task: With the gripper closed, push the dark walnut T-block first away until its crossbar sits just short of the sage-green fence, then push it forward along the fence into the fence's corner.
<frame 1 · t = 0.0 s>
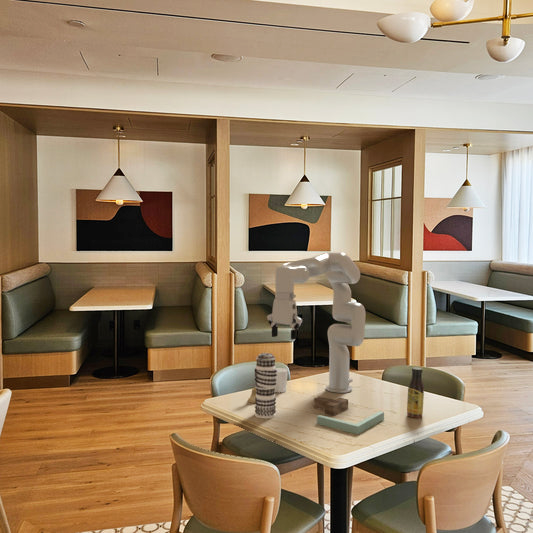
hand: (284, 337, 216), 31 cm above the table, fingers open, 9 cm apart
sauce bottle: (415, 416, 214), on the table
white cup: (279, 391, 250), on the table
hand bell: (257, 401, 234), on the table
patterned stacked cylinder: (265, 415, 214), on the table
t block: (336, 411, 220), on the table
corner fence: (353, 425, 203), on the table
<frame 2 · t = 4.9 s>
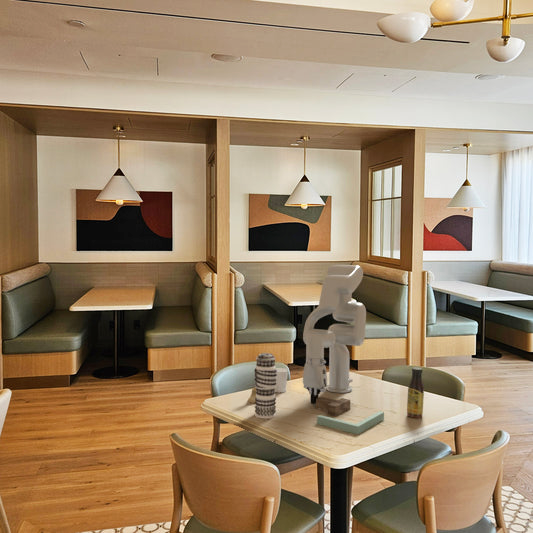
hand: (314, 403, 227), 1 cm above the table, fingers closed
t block: (338, 411, 219), on the table, touching gripper
everything else where it was.
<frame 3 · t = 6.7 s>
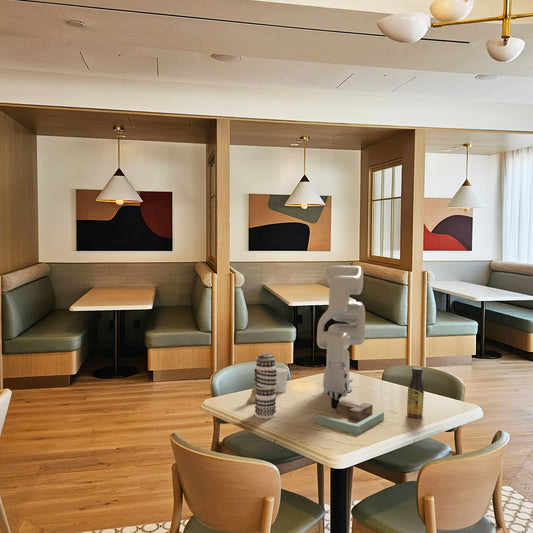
hand: (335, 408, 220), 1 cm above the table, fingers closed
t block: (360, 416, 213), on the table, touching gripper
everything else where it was.
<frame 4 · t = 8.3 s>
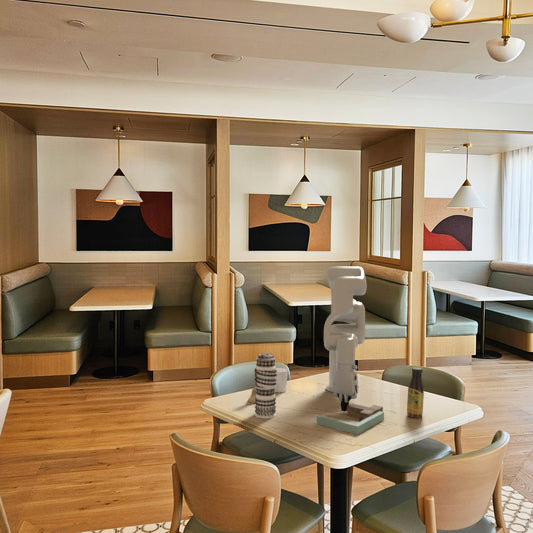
hand: (344, 410, 218), 1 cm above the table, fingers closed
t block: (371, 419, 210), on the table, touching corner fence, gripper
everything else where it was.
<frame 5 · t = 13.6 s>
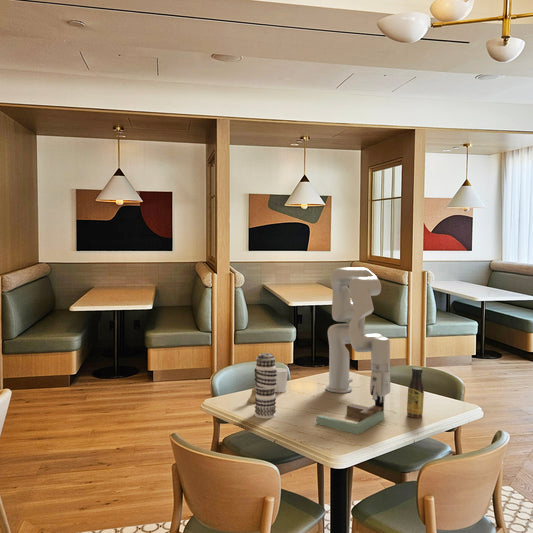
hand: (379, 411, 216), 1 cm above the table, fingers closed
t block: (370, 419, 210), on the table, touching gripper
everything else where it was.
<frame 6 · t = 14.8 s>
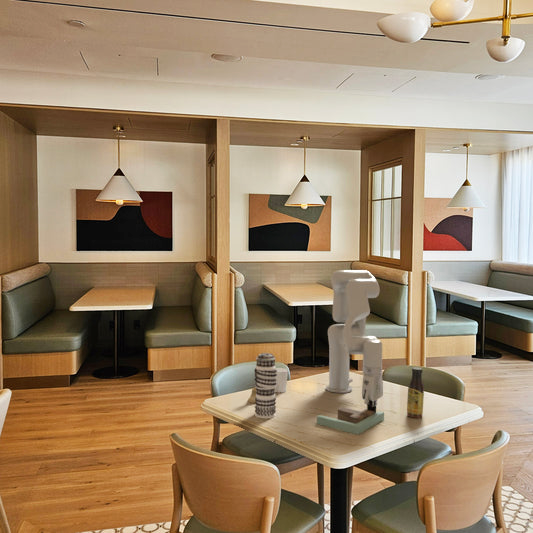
hand: (371, 415, 211), 1 cm above the table, fingers closed
t block: (361, 423, 204), on the table, touching gripper
everything else where it was.
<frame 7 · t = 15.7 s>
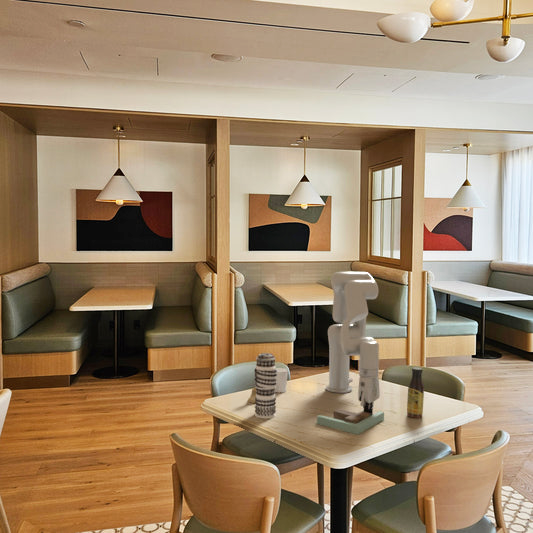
hand: (367, 417, 209), 1 cm above the table, fingers closed
t block: (357, 425, 202), on the table, touching corner fence, gripper
everything else where it was.
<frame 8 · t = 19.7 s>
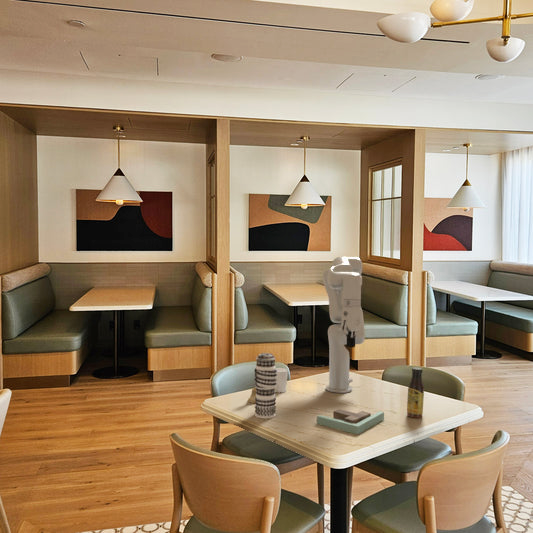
hand: (350, 346, 219), 27 cm above the table, fingers closed
t block: (357, 425, 202), on the table
everything else where it was.
at the end: t block inside the target area (0.2 cm from its centre), on the table; t block moved 18.5 cm from its start; t block tilted 0° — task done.
